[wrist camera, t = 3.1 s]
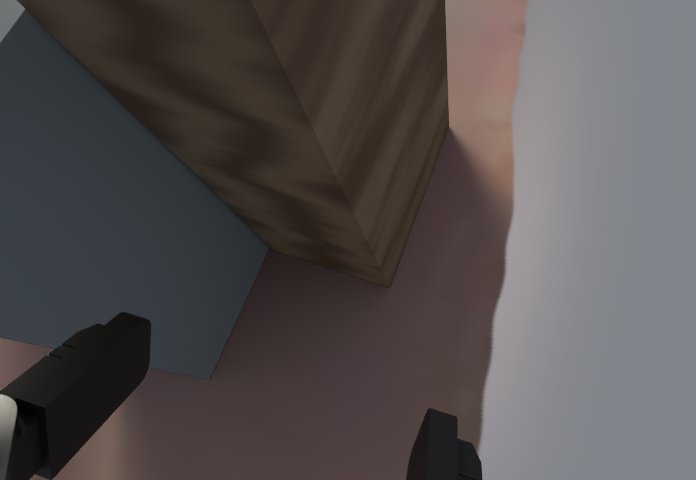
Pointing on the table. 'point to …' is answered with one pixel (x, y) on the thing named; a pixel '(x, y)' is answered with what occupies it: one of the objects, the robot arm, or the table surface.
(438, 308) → the table surface
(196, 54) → the upright wooden block
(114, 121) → the grey rectangular box
